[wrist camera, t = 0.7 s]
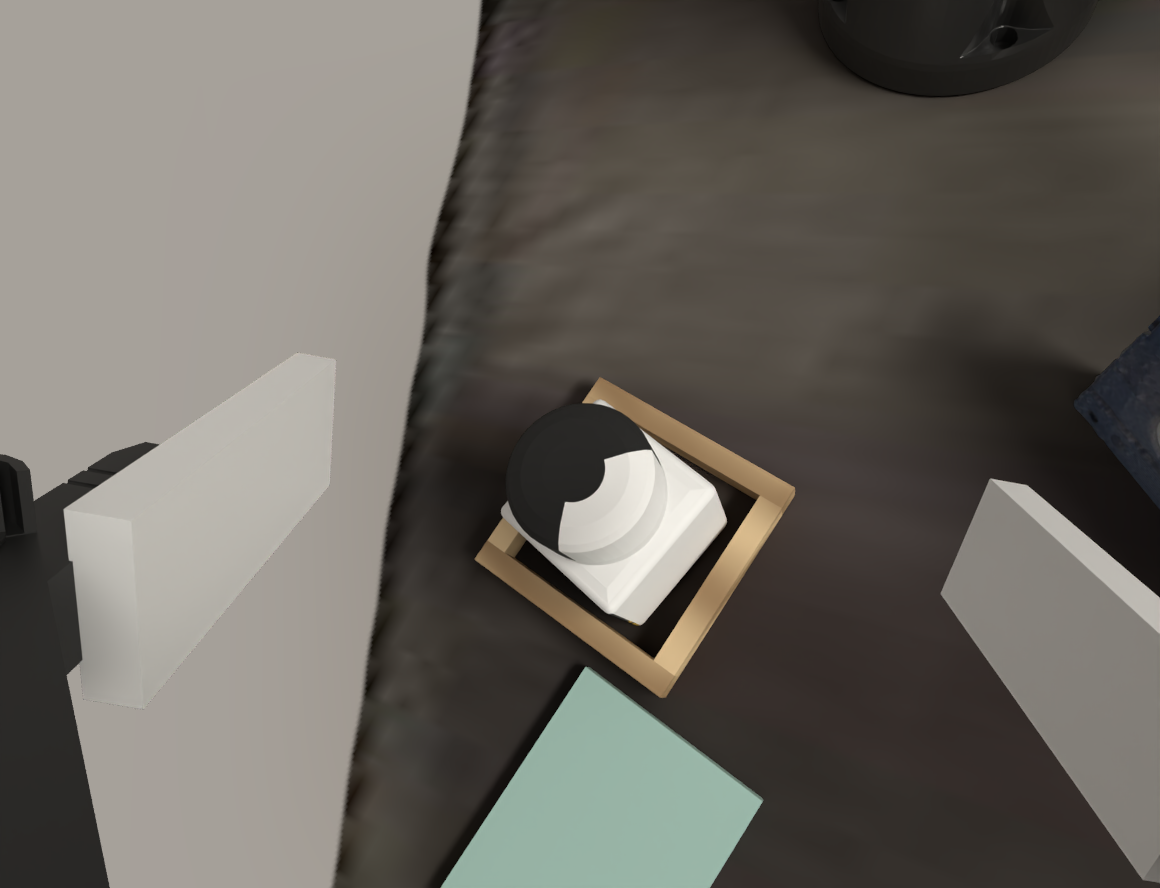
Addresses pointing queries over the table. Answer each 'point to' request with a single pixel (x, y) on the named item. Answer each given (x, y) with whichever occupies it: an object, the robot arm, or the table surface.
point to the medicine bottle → (610, 507)
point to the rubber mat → (608, 805)
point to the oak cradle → (717, 585)
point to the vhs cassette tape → (1130, 409)
